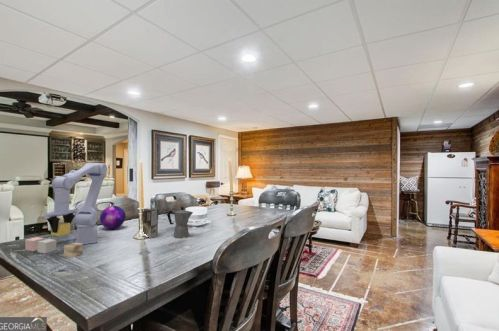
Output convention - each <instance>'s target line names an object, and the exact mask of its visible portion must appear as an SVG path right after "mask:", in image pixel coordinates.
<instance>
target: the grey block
mask: <svg viewBox="0 0 499 331" xmlns="http://www.w3.org/2000/svg"><path fill="white" fill-rule="evenodd" d="M36 251H37V253H41V254H48V253H51V252H54V251H57V239H53V238H47V239H44V240H43V241H39V242H38V250H36Z"/></svg>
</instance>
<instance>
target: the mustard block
mask: <svg viewBox="0 0 499 331" xmlns="http://www.w3.org/2000/svg"><path fill="white" fill-rule="evenodd" d="M50 232H51V233H50V235H51V236H57V237H61V236H65V235H69V234H71V224H70V223H66V222H64V221H59V223H58V231H57V233H53V232H52V229H51V231H50Z"/></svg>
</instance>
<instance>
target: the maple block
mask: <svg viewBox="0 0 499 331" xmlns="http://www.w3.org/2000/svg"><path fill="white" fill-rule="evenodd" d="M83 246H84V244H80V243H75V242H73V243H69V244H66V245H63V257H64V258H69V257H70V259H74V258H76V257H78V256H82V255H83ZM73 257H74V258H73Z"/></svg>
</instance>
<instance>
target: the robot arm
mask: <svg viewBox="0 0 499 331" xmlns="http://www.w3.org/2000/svg"><path fill="white" fill-rule="evenodd" d="M107 173H108V166H107V165H106V163H105V162H102V163H100V162H87V163H85V164H84V165H83V166H82V167H80V168H79V169H78V170H75V169H74V170H70V171H69V172H68V173H65V174H63V175H62V176H57V177H55V178H53V180H52V182H51V187H52V189H53V193H54V201H53V203H54V205H53V206H54V208H53V211H52V212H48V213H44V214H43V219H45V220H47V222H48V223H49V224H48V225H50V228H51V229H52V232H53V233H57V231H58V223H60V220H61V218H60V217H62V218H63V222H66V223H70V225H71V224H72V222H73V225H75V227H76V240H75V242H74V243H80V244H83V245H88V244H96V243H98V224H96V223H98V222H97V221H98V214H99V213H98V210H96V209H95V208H96V204H97V201H98V199H99V195H100V191H101V189H102V185H103V182H104V180H105V179H106V176H107ZM86 175H87V177H88V178H89V179H90V180H91V184H90V186H89V189H88V193H87V195H86V197H85V198H86V199H85V200H84V204H83V207H81V208H79V209H76V208H73V209H70V197H71V195H70V194H71V190H72V189H73V186H74V185H75V184H76V183H78V182H79V181H81V180H82V178H83V176H86Z"/></svg>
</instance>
